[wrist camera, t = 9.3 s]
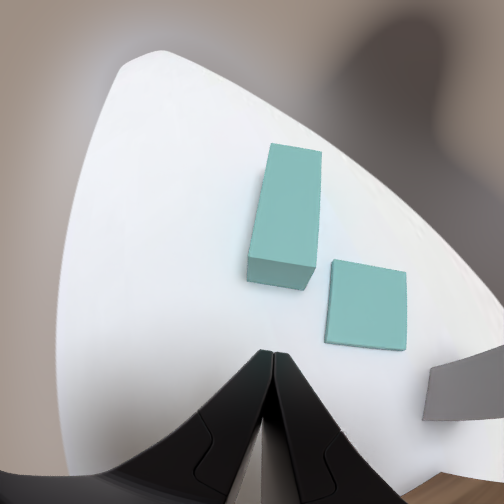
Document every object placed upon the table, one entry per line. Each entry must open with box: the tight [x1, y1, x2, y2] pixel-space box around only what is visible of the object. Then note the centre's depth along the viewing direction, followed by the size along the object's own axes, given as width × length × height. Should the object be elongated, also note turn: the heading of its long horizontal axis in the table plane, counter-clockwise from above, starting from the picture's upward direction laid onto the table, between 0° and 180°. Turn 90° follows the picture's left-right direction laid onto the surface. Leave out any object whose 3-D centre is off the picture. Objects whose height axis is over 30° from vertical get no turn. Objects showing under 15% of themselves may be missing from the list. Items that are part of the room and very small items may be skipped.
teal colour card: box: [324, 259, 407, 351], centre depth 19 cm, size 6×6×1 cm
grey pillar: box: [422, 345, 504, 421], centre depth 12 cm, size 4×4×10 cm
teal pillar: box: [247, 143, 322, 290], centre depth 21 cm, size 4×4×10 cm
